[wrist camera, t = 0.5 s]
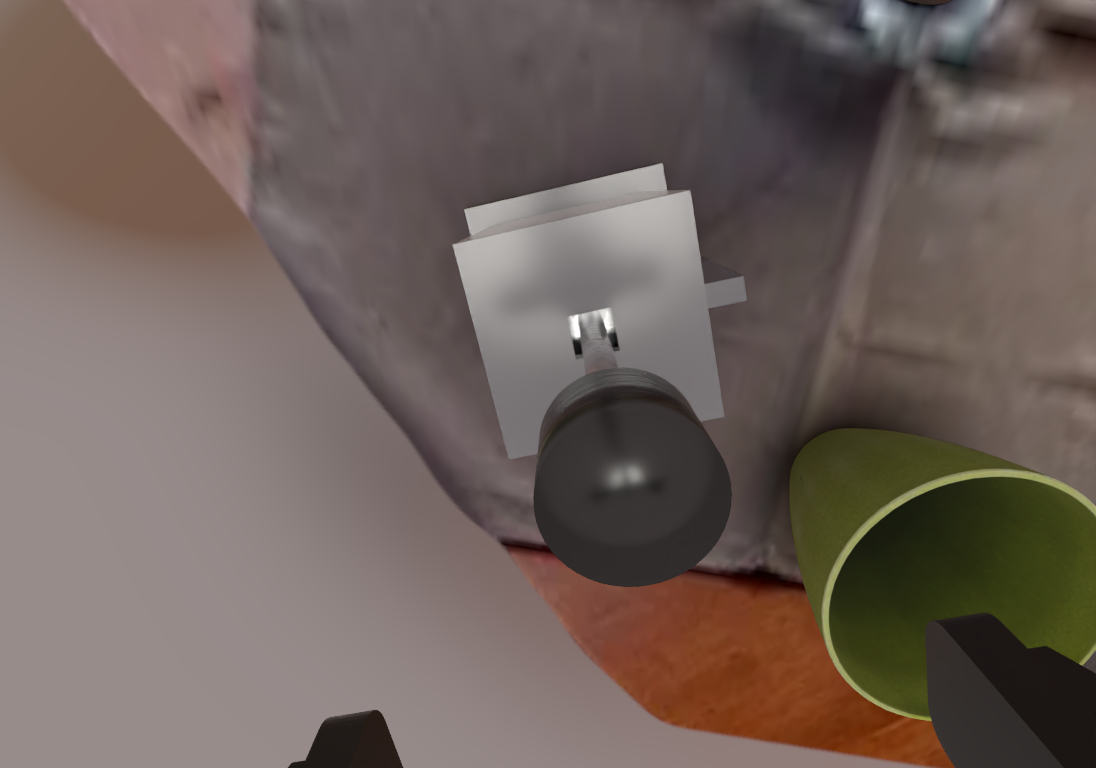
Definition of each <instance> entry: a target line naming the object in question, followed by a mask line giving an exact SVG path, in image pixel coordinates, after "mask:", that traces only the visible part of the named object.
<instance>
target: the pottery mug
mask: <svg viewBox="0 0 1096 768" xmlns="http://www.w3.org/2000/svg"><path fill="white" fill-rule="evenodd" d="M907 1H910V2H914V3H919V4H921V5H926V4H931V5H937V4H943V3H947V2H949V1H951V0H907Z"/></svg>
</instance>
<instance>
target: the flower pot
mask: <svg viewBox="0 0 1096 768" xmlns="http://www.w3.org/2000/svg"><path fill="white" fill-rule="evenodd" d="M789 500H790V517H791V526H792V533H793V539H794V545H795V550H796V555H797V559H798V564H799V568H800V572H801V576H802V579H803V583H804V586H805V589H806V593H807V596H808V599H809V602H810V604H811V607H812V610H813V613H814V616H815V619H816V621H817V624H818V627H819V629H820V632H821V634H822V637H823V639H824V642H825V645H826V647H827V650H828V652H829V655H830V657H831V659H832V661H833V663H834V665H835V666H836V668H837V669H838V671H839V672H840V674H841V675H842V676H843V678H844V679H845V680H846V681H847V682H848V683H849V684H850V685H851V686H852V687H853V688H854V689H855V690H856V691H857V692H858V693H859V694H861V695H862V696H863V697H865V698H866V699H868V700H869V701H871V702H872V703H874V704H876V705H878V706H880V707H882V708H884V709H886V710H888V711H891V712H894V713H896V714H899V715H903V716H906V717H910V718H915V719H921V720H928V721H932V720H931V717H930V713H929V708H928V691H927V665H926V639H925V630H926V626H927V623H928V622H930V621H935V620H941V619H947V618H953V617H959V616H965V615H971V614H977V613H984V612H985V613H989V614H992V615H993V616H995V617H996V618H997V619H998V620H1000V621H1001V622H1002V623H1003V624H1004V625H1005V626H1006V627H1007V628H1008V629H1009V630H1010V631H1011V632H1012V633H1013V634H1014V635H1015V636H1016V637H1017V638H1018V639H1019V640H1020V641H1021V642H1022V643H1023V644H1024V645H1025V646H1026V647H1027V648H1028V649H1029V648H1035V647H1042V646H1048V647H1050V648H1051V649H1053V650H1055V651H1057V652H1058V653H1060V654H1062V655H1064V656H1066V657H1067V658H1069V659H1071V660H1073V661H1075V662H1076V663H1078V664H1080V665H1083V664H1084V663H1085V662H1086V661H1087V660H1088V659H1089V658H1090V657H1091V655H1092V654H1093V653H1094V652H1095V650H1096V506H1095V505H1094V504H1093V503H1092V502H1091V501H1090V500H1089V499H1088V498H1086V497H1085V496H1084V495H1083V494H1081V493H1080V492H1079V491H1077V490H1075V489H1074V488H1072V487H1070V486H1068V485H1067V484H1065V483H1063V482H1060V481H1058V480H1056V479H1053V478H1051V477H1048V476H1046V475H1043V474H1041V473H1038V472H1036V471H1033V470H1031V469H1028V468H1025V467H1023V466H1020V465H1017V464H1015V463H1012V462H1009V461H1006V460H1004V459H1001V458H998V457H995V456H992V455H989V454H986V453H983V452H980V451H977V450H974V449H970V448H967V447H964V446H960V445H957V444H953V443H949V442H945V441H940V440H936V439H932V438H927V437H923V436H918V435H913V434H907V433H901V432H894V431H887V430H877V429H861V428H843V429H835V430H831V431H828V432H825V433H823V434H820V435H818V436H817V437H815V438H813V439H812V440H811V441H809V442H808V443H807V444H806V445H805V446H804V447H803V448H802V449H801V450H800V452H799V453H798V455H797V456H796V458H795V460H794V462H793V465H792V468H791V473H790V487H789Z"/></svg>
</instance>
